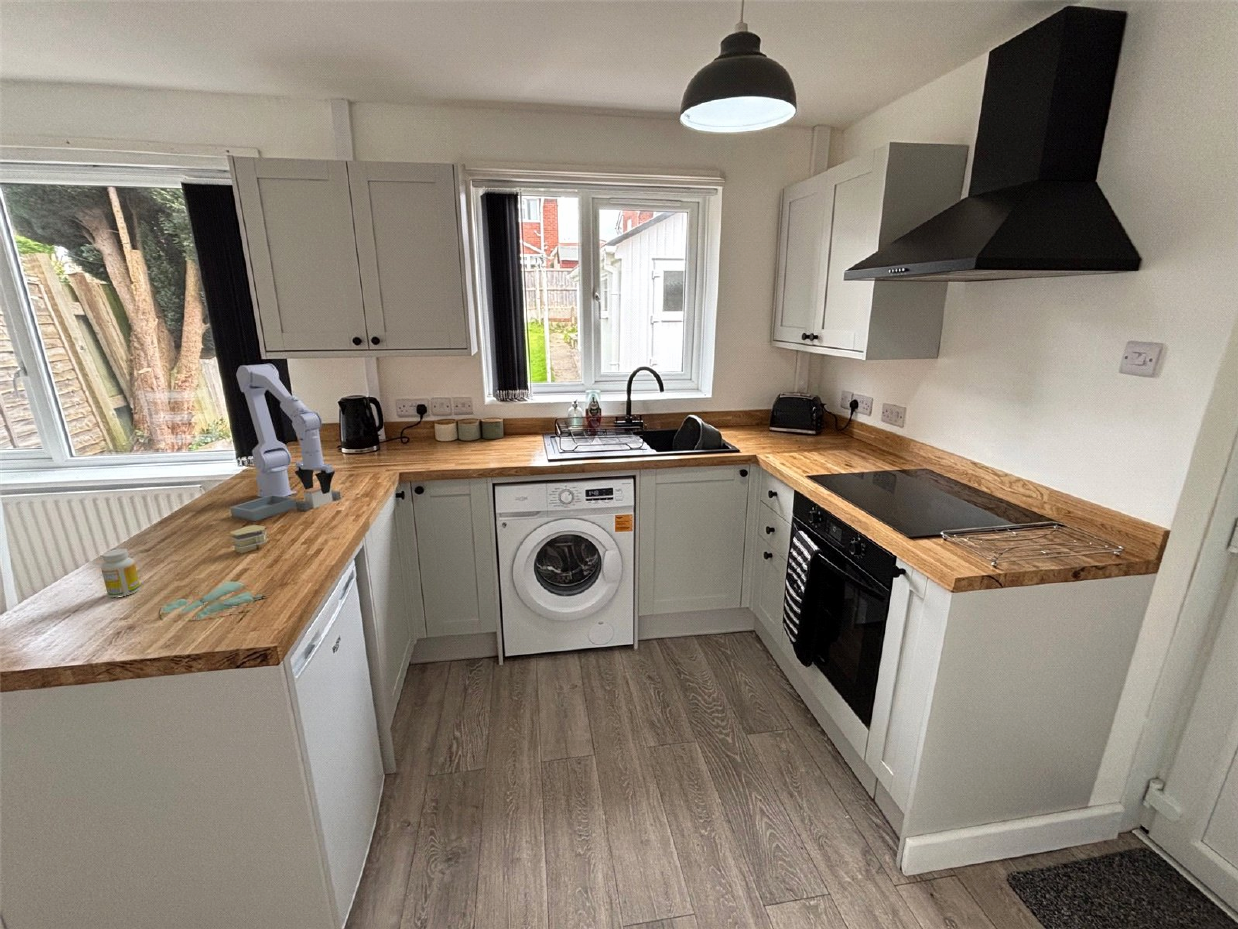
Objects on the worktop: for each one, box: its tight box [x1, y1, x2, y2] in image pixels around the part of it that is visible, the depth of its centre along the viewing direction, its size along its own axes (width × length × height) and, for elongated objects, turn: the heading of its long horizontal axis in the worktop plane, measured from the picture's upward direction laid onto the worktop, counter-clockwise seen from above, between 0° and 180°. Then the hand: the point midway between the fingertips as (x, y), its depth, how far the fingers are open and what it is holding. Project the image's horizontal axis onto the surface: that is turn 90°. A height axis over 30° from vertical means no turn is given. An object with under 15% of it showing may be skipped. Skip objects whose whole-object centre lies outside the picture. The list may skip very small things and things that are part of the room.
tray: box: [229, 495, 297, 522], centre depth 169 cm, size 11×14×3 cm
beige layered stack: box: [229, 524, 269, 554], centre depth 142 cm, size 10×9×6 cm
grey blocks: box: [296, 489, 342, 512], centre depth 176 cm, size 4×13×2 cm, turn 157°
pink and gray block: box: [303, 485, 334, 509], centre depth 176 cm, size 4×7×6 cm, turn 157°
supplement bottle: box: [100, 548, 141, 598], centre depth 118 cm, size 5×5×10 cm
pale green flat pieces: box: [162, 580, 267, 619], centre depth 116 cm, size 20×22×2 cm
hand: (317, 491), depth 176 cm, fingers open, 7 cm apart
